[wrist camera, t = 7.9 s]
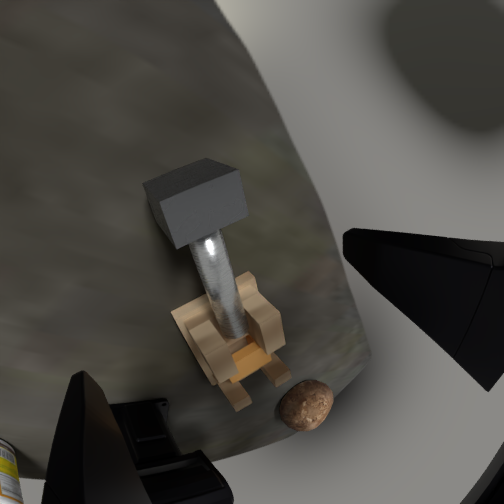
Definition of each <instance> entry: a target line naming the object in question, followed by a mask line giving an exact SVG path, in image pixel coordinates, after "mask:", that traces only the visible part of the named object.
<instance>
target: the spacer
mask: <svg viewBox="0 0 504 504" xmlns="http://www.w3.org/2000/svg"><path fill="white" fill-rule="evenodd" d="M246 339H247V342H248V345H247V346H246V347H244V348H242V349H241V350H239V351H237V352H235V353H234V354H232V357H233V360H234V362H235V364H236V367H237V369H238V371H239V373H238V374H236V375H234V376H233V377H231V378H229V380H230V381H231V383H232V384H233V383H235V382H237V381H239V380H240V379H242V378H244V377H245V376H247V375H249V374H250V373H252V372H254V371H255V370H257V369H259V368H260V367H262V366H263V365H265V364H267V363H268V362H270V361H271V360H272V359H271V355H270V354H269V355H267V354H266V353H265V352H264V351H263V349H262V348H261V347H260V346H259V345H258V344H257V343H256V341H255V340H254V339H253V338H252V337H251V336H250V335H247V336H246Z"/></svg>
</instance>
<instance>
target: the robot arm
mask: <svg viewBox="0 0 504 504" xmlns="http://www.w3.org/2000/svg"><path fill="white" fill-rule="evenodd" d="M343 255H344V257H345V259H346V260H347V261H348V262H349V263H350V264H351V265H352V266H353V267H354V268H355V269H356V270H357V271H358V272H359V273H360V274H361V275H362V276H363V277H364V278H365V279H366V280H367V281H368V283H369V284H370V285H371V286H372V287H374V288H375V289H376V290H377V291H378V292H379V293H380V294H382V295H383V296H384V297H385V298H386V299H387V300H389V301H390V302H391V303H392V304H393V305H394V306H395V307H397V308H398V309H399V310H400V311H401V312H402V313H403V314H405V315H406V316H407V317H408V318H409V319H410V320H411V321H413V322H414V323H415V324H416V325H417V326H418V327H419V328H420V329H422V330H423V331H424V332H425V333H426V334H427V335H428V336H429V337H430V338H431V339H432V340H434V341H435V342H436V343H437V344H438V345H439V346H440V347H441V348H442V349H443V350H444V351H445V352H447V353H448V354H449V355H450V356H451V357H452V358H453V359H454V360H455V361H456V362H457V363H458V364H459V365H460V366H461V367H462V368H463V369H464V370H465V371H466V372H467V373H468V374H469V375H470V376H471V377H473V379H475V380H476V381H477V382H478V383H479V384H480V385H481V386H482V387H483V388H484V389H485V390H486V391H487V392H489V391H490V390H491V388H492V387H493V386H494V385H495V383H496V382H497V381H498V380H499V378H500V377H501V376H502V374H503V373H504V242H494V241H480V240H467V239H458V238H447V237H440V236H431V235H422V234H412V233H403V232H393V231H382V230H370V229H359V228H352V229H350V230H348V231H346V232H345V233H344V234H343ZM168 408H169V402H168V400H167V399H157V400H149V401H141V402H133V403H123V404H113V405H109V404H108V402H107V399H106V397H105V395H104V392H103V390H102V389H101V387H100V386H99V385H98V384H97V383H96V382H95V381H94V380H93V379H92V377H91V376H90V375H89V374H88V373H87V372H86V371H80V372H78V373H76V374H74V375H72V377H71V380H70V383H69V386H68V389H67V392H66V395H65V399H64V402H63V405H62V409H61V412H60V416H59V420H58V423H57V427H56V431H55V435H54V439H53V443H52V448H51V452H50V457H49V462H48V467H47V472H46V478H45V480H46V482H45V483H44V490H43V495H42V502H41V504H233V502H234V497H233V494H232V491H231V489H230V487H229V485H228V483H227V482H226V480H225V478H224V477H223V476H222V475H221V473H220V472H219V471H218V470H217V469H216V468H215V467H214V465H213V464H212V463H211V462H210V461H209V459H208V458H207V457H206V456H205V455H204V453H203V452H202V451H201V450H196V451H195V452H192V453H188V454H185V455H182V454H181V452H180V450H179V448H178V446H177V444H176V442H175V440H174V438H173V436H172V434H171V432H170V430H169V428H168V426H167V416H168ZM460 504H504V442H503V444H502V445H501V447H500V449H499V450H498V452H497V453H496V455H495V457H494V458H493V460H492V461H491V463H490V464H489V466H488V467H487V469H486V470H485V472H484V473H483V474H482V476H481V477H480V479H479V480H478V481H477V483H476V484H475V485H474V487H473V488H472V489H471V491H470V492H469V493H468V494H467V496H466V497H465V498H464V499H463V500H462V502H461V503H460Z"/></svg>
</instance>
